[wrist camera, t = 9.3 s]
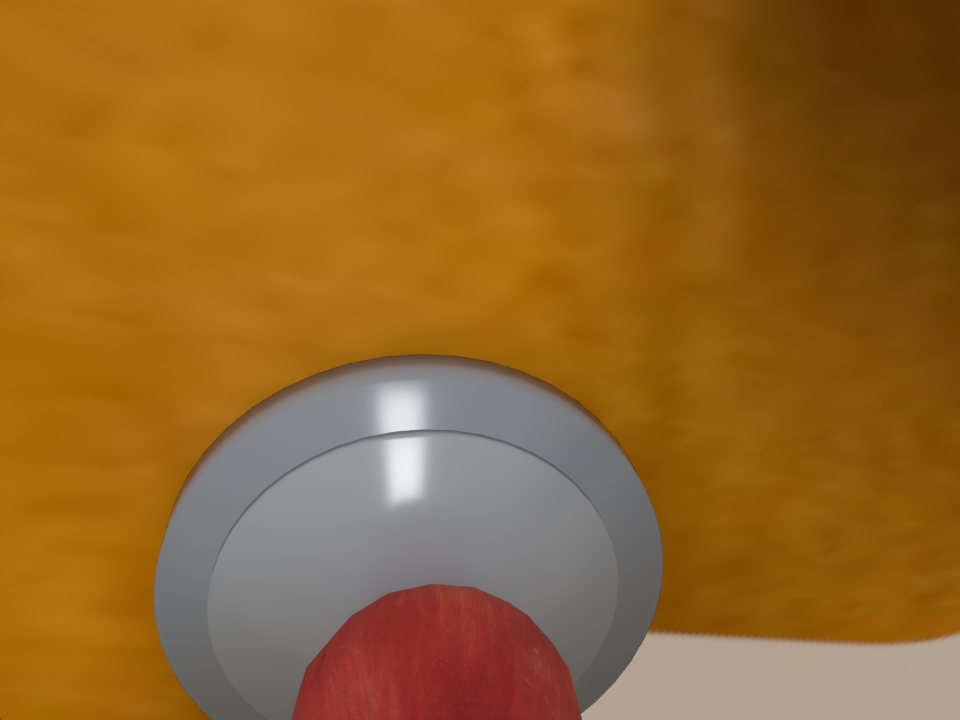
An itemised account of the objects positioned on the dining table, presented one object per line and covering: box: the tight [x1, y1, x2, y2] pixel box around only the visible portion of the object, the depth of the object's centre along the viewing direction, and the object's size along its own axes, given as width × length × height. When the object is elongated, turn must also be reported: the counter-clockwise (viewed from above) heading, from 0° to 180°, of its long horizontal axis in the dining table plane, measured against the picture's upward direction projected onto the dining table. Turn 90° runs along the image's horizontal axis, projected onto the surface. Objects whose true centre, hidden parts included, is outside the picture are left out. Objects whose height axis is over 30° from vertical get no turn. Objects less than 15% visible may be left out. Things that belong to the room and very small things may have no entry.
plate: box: [154, 354, 663, 720], centre depth 22 cm, size 12×12×2 cm
